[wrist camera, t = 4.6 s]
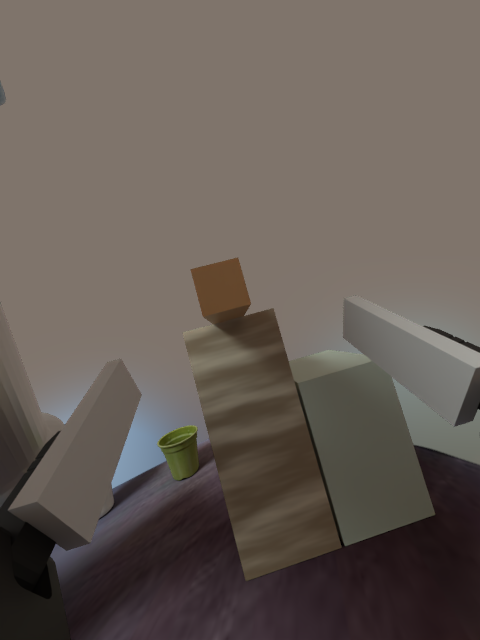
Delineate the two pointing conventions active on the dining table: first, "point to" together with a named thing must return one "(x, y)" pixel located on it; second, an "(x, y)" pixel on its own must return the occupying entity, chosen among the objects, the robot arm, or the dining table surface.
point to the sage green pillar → (360, 444)
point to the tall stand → (261, 444)
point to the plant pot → (181, 451)
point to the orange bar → (221, 291)
